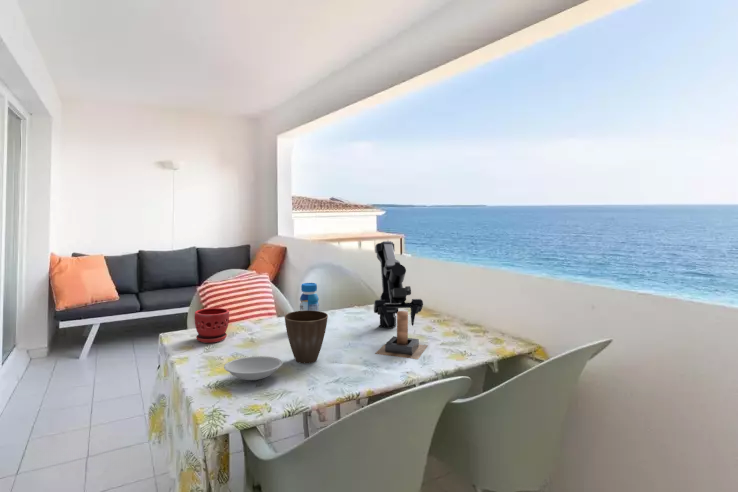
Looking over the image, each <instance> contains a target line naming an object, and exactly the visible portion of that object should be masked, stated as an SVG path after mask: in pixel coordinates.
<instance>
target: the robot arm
mask: <svg viewBox="0 0 738 492" xmlns="http://www.w3.org/2000/svg"><path fill="white" fill-rule="evenodd" d="M374 251H375V254H376V258H377V260H378V261H379V262H380V270H381V271H380V272H381V286H382V287H381V288H382V293H381V294H380V297H379V299H375V300H374V302H373V313H374V314H377V315H379V325H378V328H385V329H386V328H387V329H393V328H394V327H396V326H397V312H398V311H399V309H410V323H411V325H412V326H414V324H415V323H414V322H415V318H416V315H417V314H419V313H420V312H422V310H423V309H422V308H423V307H424V306H423V305H424V301H423V299H421V298H412V299H411V301H410V302H406V301H407V296H411V295H412V289H411V286H409V285H408V286H405V287H403V282H404V280H405V277H406V273H407V270H406V269H407V268H406V267H405V266H404V265H403V264H401V262H400V261H399V260H397V258H396V254H395V251H396V250H395V243H394V242H393V241H389V240H387V241H386V240H385V241H381V242H378V243H376V245H375V247H374Z"/></svg>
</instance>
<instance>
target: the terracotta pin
mask: <svg viewBox="0 0 738 492" xmlns="http://www.w3.org/2000/svg"><path fill="white" fill-rule="evenodd" d="M408 335H409V312H408V311H407V310H398V312H397V314H396V337H397V344H405V345H408V338H409V336H408Z"/></svg>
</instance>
